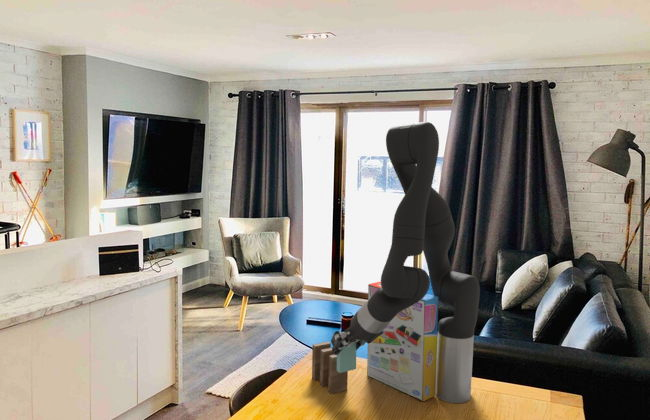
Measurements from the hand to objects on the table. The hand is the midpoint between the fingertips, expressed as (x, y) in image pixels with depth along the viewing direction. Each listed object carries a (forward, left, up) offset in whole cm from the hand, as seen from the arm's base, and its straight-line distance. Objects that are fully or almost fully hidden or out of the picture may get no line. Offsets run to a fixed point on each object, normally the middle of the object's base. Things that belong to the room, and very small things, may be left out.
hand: (343, 349), depth 137 cm
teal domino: (0, +1, -5) cm, 5 cm away
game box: (-14, +9, -13) cm, 21 cm away
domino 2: (-3, -7, -12) cm, 14 cm away
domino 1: (-5, -11, -12) cm, 17 cm away
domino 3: (-1, -2, -12) cm, 13 cm away
